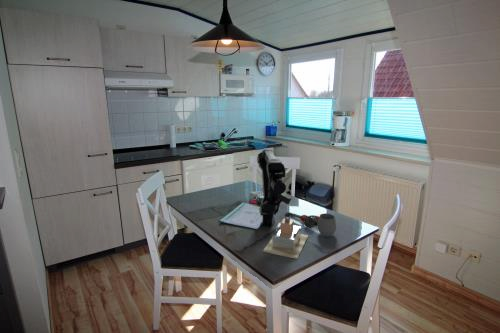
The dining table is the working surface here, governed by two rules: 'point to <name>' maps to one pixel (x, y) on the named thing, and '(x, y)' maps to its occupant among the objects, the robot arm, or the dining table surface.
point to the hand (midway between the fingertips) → (274, 216)
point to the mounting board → (287, 253)
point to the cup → (326, 225)
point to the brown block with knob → (287, 225)
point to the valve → (306, 219)
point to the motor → (286, 238)
